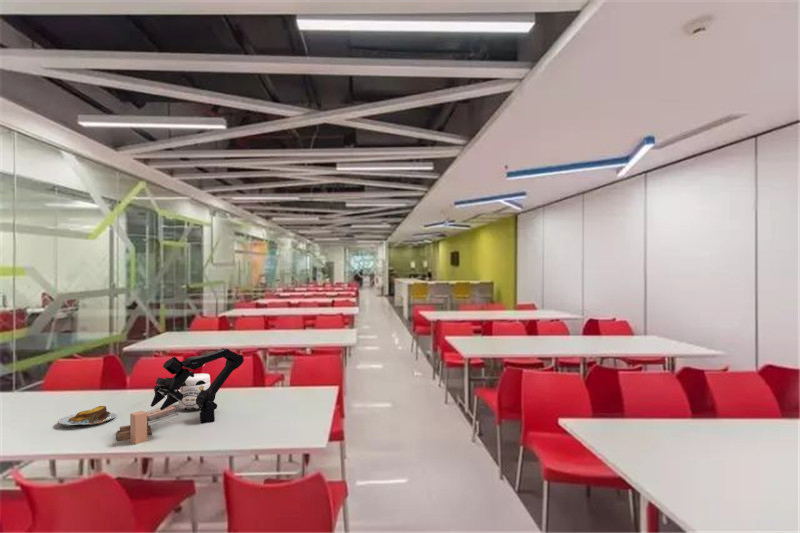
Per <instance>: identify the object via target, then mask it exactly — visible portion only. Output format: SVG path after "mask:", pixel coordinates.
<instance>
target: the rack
mask: <svg viewBox="0 0 800 533" xmlns="http://www.w3.org/2000/svg"><path fill="white" fill-rule="evenodd" d="M152 435H153V431H152V426H151V425H150V424H148V422H147V437H149V436H152ZM127 440H130V424H128V425H122V426H119V430H117V432H116V441H117V442H120V441H127Z"/></svg>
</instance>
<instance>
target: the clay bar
mask: <svg viewBox="0 0 800 533" xmlns="http://www.w3.org/2000/svg"><path fill="white" fill-rule="evenodd" d="M147 412H148V411H144V410H139V411H135V412H131V413H129V416H130V417H129V419H130V420H129V423H130V424H129V425H130V439H129V440H130V443H132V444H134V445H138V444H142V443H145V442H147V441H148V436H147Z"/></svg>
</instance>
